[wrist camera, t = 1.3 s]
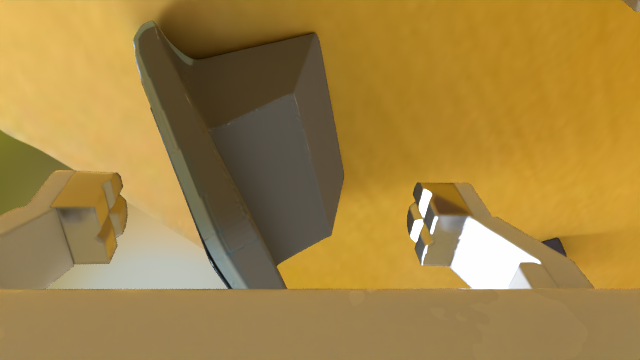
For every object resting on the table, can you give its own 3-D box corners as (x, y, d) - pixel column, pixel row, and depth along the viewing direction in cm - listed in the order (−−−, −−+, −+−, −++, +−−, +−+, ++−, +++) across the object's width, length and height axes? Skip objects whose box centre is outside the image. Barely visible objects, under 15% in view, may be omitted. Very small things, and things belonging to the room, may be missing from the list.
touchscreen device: (122, 24, 44) (27, 290, 24) (308, -18, 43) (367, 221, 23) (231, 219, 70) (228, 422, 50) (347, 195, 69) (391, 392, 50)
